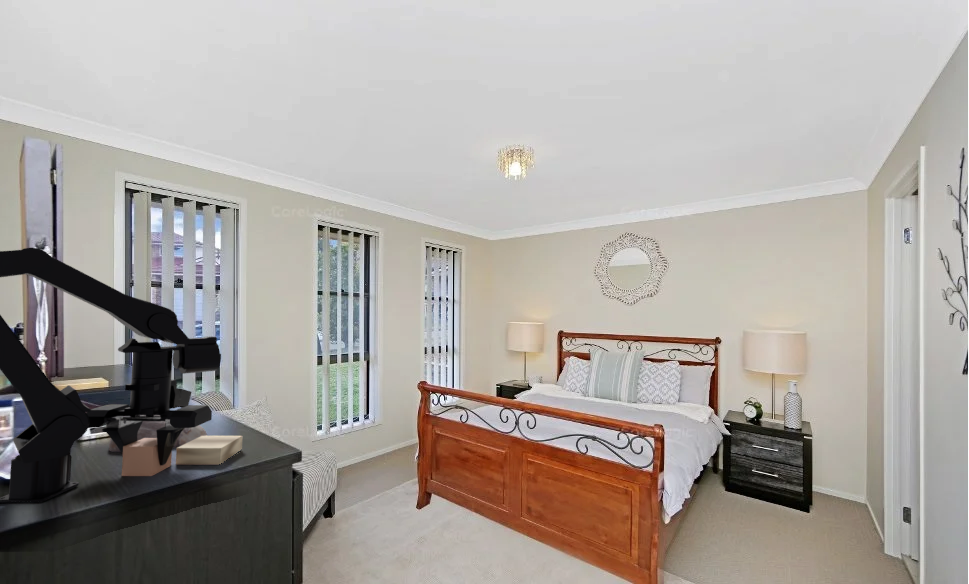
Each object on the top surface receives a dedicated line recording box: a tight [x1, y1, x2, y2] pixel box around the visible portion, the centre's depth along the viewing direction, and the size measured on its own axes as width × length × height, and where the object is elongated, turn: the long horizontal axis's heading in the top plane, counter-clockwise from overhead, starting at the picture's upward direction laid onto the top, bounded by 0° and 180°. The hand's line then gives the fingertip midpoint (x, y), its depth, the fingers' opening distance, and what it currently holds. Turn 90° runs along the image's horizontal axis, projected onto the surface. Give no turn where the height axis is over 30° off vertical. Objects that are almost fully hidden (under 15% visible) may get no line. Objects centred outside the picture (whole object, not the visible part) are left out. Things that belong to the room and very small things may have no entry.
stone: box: [108, 415, 209, 453], centre depth 94 cm, size 17×10×10 cm
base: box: [175, 435, 243, 466], centre depth 85 cm, size 8×8×3 cm
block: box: [121, 438, 173, 477], centre depth 78 cm, size 5×5×5 cm
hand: (147, 464), depth 78 cm, fingers closed on block, 5 cm apart
